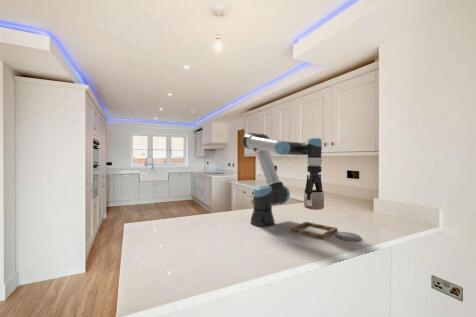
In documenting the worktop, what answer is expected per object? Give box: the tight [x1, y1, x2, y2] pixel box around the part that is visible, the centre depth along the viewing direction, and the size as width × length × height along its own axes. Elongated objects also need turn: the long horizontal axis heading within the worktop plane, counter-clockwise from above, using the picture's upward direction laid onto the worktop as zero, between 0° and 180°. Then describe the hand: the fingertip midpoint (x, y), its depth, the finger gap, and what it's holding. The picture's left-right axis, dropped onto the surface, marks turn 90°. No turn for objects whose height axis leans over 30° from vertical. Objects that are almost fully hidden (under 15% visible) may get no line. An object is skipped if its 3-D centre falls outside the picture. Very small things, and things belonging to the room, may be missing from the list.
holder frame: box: [290, 221, 338, 241], centre depth 126 cm, size 19×19×2 cm
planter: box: [303, 189, 325, 211], centre depth 126 cm, size 11×11×10 cm
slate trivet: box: [335, 231, 362, 242], centre depth 116 cm, size 12×12×1 cm
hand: (313, 204), depth 126 cm, fingers closed on planter, 11 cm apart
